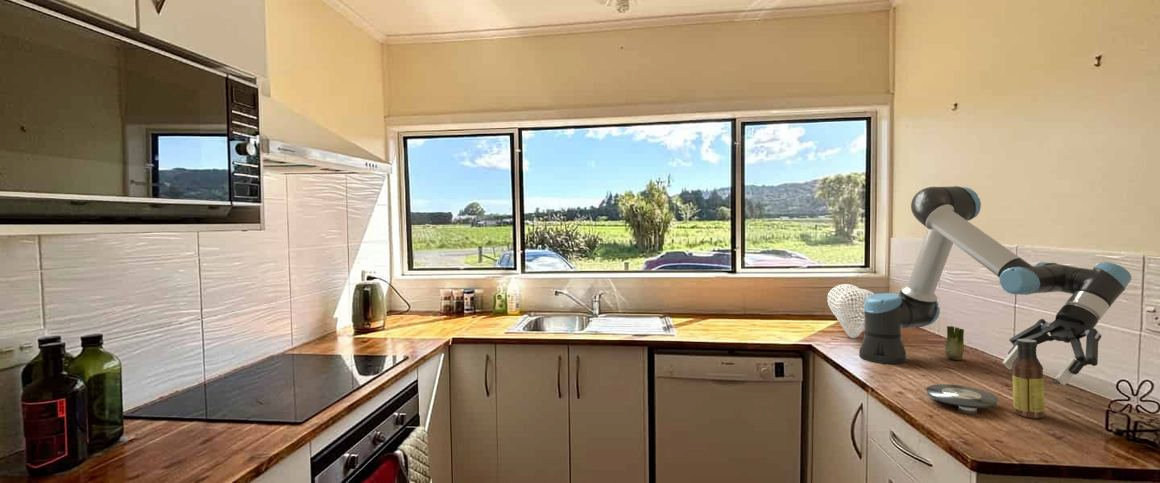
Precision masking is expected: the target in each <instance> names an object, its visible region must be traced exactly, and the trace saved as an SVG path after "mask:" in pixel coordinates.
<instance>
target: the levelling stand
mask: <svg viewBox="0 0 1160 483" xmlns="http://www.w3.org/2000/svg"><path fill="white" fill-rule="evenodd" d="M926 394H927V395H928V397H929V399H930V400H932V401H936V402H942V403H944V404H949V405H953V406H957V408H958V411H959V412H961V413H963V414H966V415H977V414H978V409H986V408H987V409H988V408H993V407H996V406H998V404H999V399H998V397H997V396H996V395H994V394H992V393H990V392H989V391H985V390H982V389H978V388H976V387H971V386H965V385H958V384H947V383H946V384H943V383H942V384H933V385H928V386H927V387H926Z"/></svg>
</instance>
